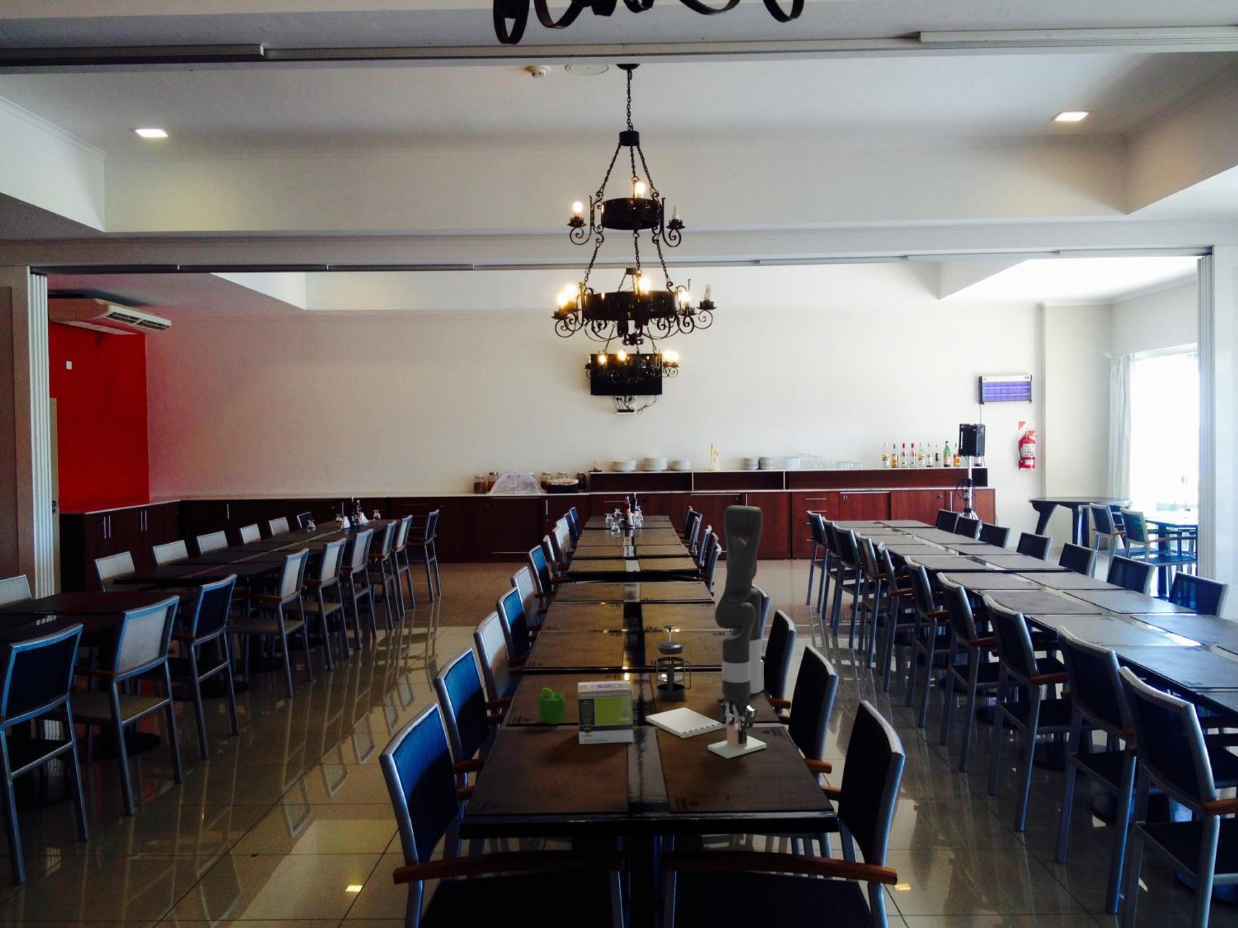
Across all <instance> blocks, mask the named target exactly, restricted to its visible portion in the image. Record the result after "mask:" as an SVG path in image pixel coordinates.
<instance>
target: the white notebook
mask: <svg viewBox="0 0 1238 928" xmlns="http://www.w3.org/2000/svg"><path fill="white" fill-rule="evenodd" d="M645 720H646V722H648V723H651V724H652V725H655V726H657V727H659V728H661V729H662V730H665V731H667V732H670V733H671V734H673V735H675V736H677V735H678V736H677V737H679V736H680V737H679V738H681V739H685V738H689V737H690V738H691V737H693V735H694V736H697V735H701V734H705V733H709V732H713V731H717V730H720V729H723V726H724V725H723V723H722V722H719V721H716V720H714V719H712V718H710V717H707V716H705V715H702V714H700V713H698V712H697V711H694V710H692V709H689V708H686V707H681V708H677V709H672V710H668V711H667V710H666V711H663V712H659V713H654V714H650V715H647V716H645Z"/></svg>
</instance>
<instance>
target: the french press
mask: <svg viewBox="0 0 1238 928" xmlns="http://www.w3.org/2000/svg"><path fill="white" fill-rule="evenodd" d="M663 629H668V633H669V636H668V637H669V639H668V640H669V641H661V642H658V643H655V646H656V648H657V649H658V651H659V653H660V654H661V655H665V656H662V657H659V658H658V657H657V658H656V662H655V663H656V665H655V666H656V669H655V670H656V696H655V698H656V699H657V700H658V701H660V702H663V703H664V702H665V703H678V702H682V701H684V700H685V699H686V697H687V696H686V690H692V675H691V674H692V664H691V663H692V661H691V660H685V658H682V657H680V656H675V655H681V654H682V653H684V647H685V644H684V643H682V642H679V641H671V639H672V637H671V633H672V629H677V626H676V625H675V624H673V625H672V624H666V625H664V626H663ZM666 655H667V656H666ZM665 662H668V663H665ZM675 662H676V663H675ZM677 662H678V663H677ZM686 664H689V686H686V676H685V675H686V671H685V669H686V667H685V665H686ZM658 667H659V668H664V669H666V673H665V674H661V675H658V672H659V670H658ZM682 667H683V675H682V674H678V673H675V669H676V668H682ZM658 681H659V682H661V684H659V683H658ZM681 682H683V684H681Z"/></svg>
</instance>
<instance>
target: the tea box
mask: <svg viewBox="0 0 1238 928" xmlns="http://www.w3.org/2000/svg"><path fill="white" fill-rule="evenodd" d="M632 693H633V692H632V686H631V680H630V679H623V680H602V681H601V680H600V681H582V682H581V681H580V682H578V683H577V719H578V723H577V724H578V725H577V726H578V743H579V744H580V745H585V744H586V745H589V744H591V745H592V744H608V743H609V744H610V743H611V744H612V743H615V744H616V743H634V720H633V719H634V718H633V717H634V715H633V694H632Z"/></svg>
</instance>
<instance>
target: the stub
mask: <svg viewBox="0 0 1238 928" xmlns="http://www.w3.org/2000/svg"><path fill="white" fill-rule="evenodd" d="M742 725H743V723H742ZM738 730H739V729H738V724H737V722H736V723H735V724H731V725H726V740H722V741H720V742H719V741H718V742H715V743H711V744H708V745H707V749H708V751H711V752H713V753H715V754H717V755H720V756H722V757H724V758H726V759H730V758H733V757H738V756H740V755H744V754H747V753H748V754H749V753H752V752H755V751H759V750H762V749H766V748H767V743H766V742H764V741H761V740H759V739H756V738H754V737H752V736H750V735H748V734H747V741H746V743H745V744H739V743H738Z"/></svg>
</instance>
